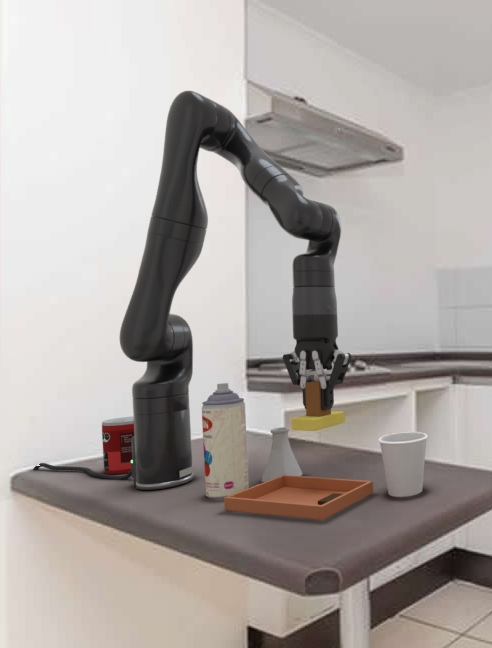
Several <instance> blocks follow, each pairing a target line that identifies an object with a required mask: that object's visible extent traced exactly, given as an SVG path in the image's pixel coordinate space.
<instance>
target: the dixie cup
mask: <svg viewBox="0 0 492 648" xmlns="http://www.w3.org/2000/svg"><path fill="white" fill-rule="evenodd" d="M428 437H429V435H428V434H427V433H425V432H421V431H402V432H401V431H400V432H392V433H387V434H384V435H382V436H380V437H379V438H378V443H379V445H380V451H381V458H382V463H383V469H384V475H385V481H386V487H387V493H388V495H389V496H391V497H395V498H404V497H412V496H416V495H418V494H420V493H422V492H423V487H424V486H423V485H424V473H425V461H426V451H427V449H426V448H427V439H428Z"/></svg>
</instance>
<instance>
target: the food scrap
mask: <svg viewBox="0 0 492 648" xmlns="http://www.w3.org/2000/svg"><path fill="white" fill-rule="evenodd" d="M341 495H343V494H336V493H333V494H331V495H329V496H327V497H325V498H323V499H321V500H319V501H318V505H323V504H325V503H327V502H329V501H331V500H333V499H335V498H337V497H339V496H341Z"/></svg>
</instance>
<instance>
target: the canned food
mask: <svg viewBox="0 0 492 648" xmlns="http://www.w3.org/2000/svg"><path fill="white" fill-rule="evenodd" d="M133 436H134V418H133V416H124V417H123V416H122V417H116V418H110V419H106V420H103V421H101V438H102V455H103V456H102V457H103V458H102V459H103V470H104V472H105V474H108V475H126V474H128V472H129V471H130V470H131V461H132V442H131V439H132V437H133Z"/></svg>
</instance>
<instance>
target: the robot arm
mask: <svg viewBox="0 0 492 648" xmlns="http://www.w3.org/2000/svg"><path fill="white" fill-rule="evenodd" d="M166 117H167V118H166V123H165V125H166V126H165V133H164V141H163V142H164V143H163V152H162V160H161V161H162V162H161V169H160V174H159V180H158V184H157V189H156V195H155V199H154V203H153V207H152V211H151V215H150V219H149V223H148V228H147V232H146V239H145V245H144V250H143V253H142V257H141V260H140V261H141V262H140V266H139V269H138V273H137V277H136V282H135V285H134V288H133V291H132V295H131V297H130V300H129V303H128V306H127V308H126V311H125V314H124V316H123V319H122V322H121V326H120V330H119V345H120V348H121V350H122V353H123V354H124V355H125V356H126V358H128V359H129V360H130V361H134V362H137V363H146V370H145V371H144V373H143V375H142V376H141V377H140V378H139V379H137V380H136V381H134V383H132V387H131V394H132V395H131V396H132V413H133V416H132V417H133V418H134V436H133V437H132V439H131V442H132V461H131V470H130V471H129V472H128V473H126V474H122V475H115V474H107V473H102V472H97V471H94V470H93V469H91V468H88V467H85V466H68V465H67V466H62V465H52V464H50V463H46V462H39V463H40V464H39V463H38V464H39V465H40V466H36V465H35V466H34V467H33V468H32V471H38V470H40V468H45V469H49V470H52V471H78V472H85V473H86V474H89V475H90V476H92V477H96V478H101V479H105V480H116V481H118V480H119V481H120V480H122V481H123V480H128V479H130V478H132V479H133V480H132V481H133V487H136V489H137V490H143V491H151V490H152V491H153V490H161V489H168V488H174V487H178V486H181V485H184V484H187V483H189V482H191V481H193V479H194V466H193V452H192V451H193V449H192V433H191V431H192V429H191V411H190V409H191V408H190V394H189V392H190V389H189V388H190V387H189V386H190V383H191V380H192V377H193V372H194V371H193V369H194V367H193V366H194V342H193V341H194V339H193V334H192V330H191V327H190V325H189V323H188V321H187V320H186V319H184V318H183V317H182V316H180V315H178V314H175V313H170V312H171V308H172V304H173V300H174V297H175V294H176V292H177V290H178V288H179V287H180V285H181V283H182V282H183V280H184V279H185V278H186V276H187V275H188V274H189V273H190V271H191V270H192V268H193V267H194V265H195V264H196V263H197V261H198V259H199V258H200V256H201V254H202V251H203V248H204V243H205V239H206V234H207V230H208V226H209V225H208V224H209V215H208V210H207V206H206V201H205V200H204V196H203V194H202V189H201V186H200V184H199V179H198V160H199V155H200V154H199V153H200V149H202V150H204V151H206V152H210V153H214V154H216V155H217V156H219V157H222V158H223V159H225V160H226V161H228V162H229V163H230V164H232V165H233V166H234V167H236V169H237V170H238V171H239V174H240V178H241V180H242V181H243V183H244V185H245V186H246V187H247V189H248V190H249V191H251V192H252V194H253V195H254V196H255V197H256V198H258V199H259V200H260V201H261V202H262V203H263V204H264V205H265V206H266V207H267V208H268V209H269V211H270V212H271V214H272V217H274V220H275V221H276V223H277V224H278V226H279V227H280V228H281V229H282V230H283V231H284V232H285V233H286V234H288V235H289V236H290V237H291V236H292V237H293V238H296V239H298V240H305V241H308V242H307V248H306V251H305V252H304V253H300V254H297V255H295V256H294V258H293V259H292V265H291V266H292V268H291V269H292V287H293V288H292V296H291V313H292V314H291V315H292V316H291V317H292V338H293V339H294V340H295V341H296V343H295V345H294V350H293V351H291V352H290V353H284V354H283V355H282V360H283V362H284V363H283V364H284V366H285V368H286V371H287V373H288V376H289V378H290V382H291V384H292V385H294V386H299V388H300V389H301V390H302V404H303V407H304V409H305V410H306V392H305V383H306V382H312V381H316V377H318V379H319V380H318V381H320V386H321V388H322V389H321V409H322V410H328V409H331V410H332V408H333V406H334V404H335V400H334V399H335V398H334V397H335V395H334V389H335V387H336V386H338V385H341V384H343V383H344V380H345V377H346V374H347V372H348V369H349V365H350V362H351V359H352V354H351V352H344V351H341V350H339V347H338V344H337V338H338V336H339V329H338V328H339V327H338V326H339V325H338V300H337V293H336V282H335V262H336V258H337V254H338V250H339V245H340V240H341V235H342V221H341V217H340V215H339V213H338V211H337V210H336V209H335V208H334V207H333V206H331V205H330V204H328V203H323V202H319V201H316V200H313V199H308V198H307V197H305V196H304V190H303V188H302V187H303V186H301V184H300V183H299V182H298V180H296V179H295V178H294V177H293V175H291V174H290V173H289V172H288V171H286V170H285V169H284V168H283V167H282V166H281V165H280V164H278V162H277V161H275V159H273V158H272V157H271V156H270V155H268V153H266V151H264V150H263V149H262V148H261V146H260V145H259V144H258V143H257V142H256V141H255V140H254V139H253V137H252V136H251V135H250V133H249V132H248V131H247V129H246V128H245V126H244V125H243V123H242V122H240V120H239V119H238V118H237V117H236V115H235V114H234V113H233V112H232V111H231V110H230V109H228V108H227V107H225V106H224V105H222V104H220V103H218V102H216V101H214V100H212V99H210V98H208V97H207V96H205V95H202V94H200V93H198V92H196V91H194V90H184V91H181V92H179V94H177V95H176V96H175V97H174V98H173V100H172V102H171V105H170V106H169V110H168V112H167V116H166Z"/></svg>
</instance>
